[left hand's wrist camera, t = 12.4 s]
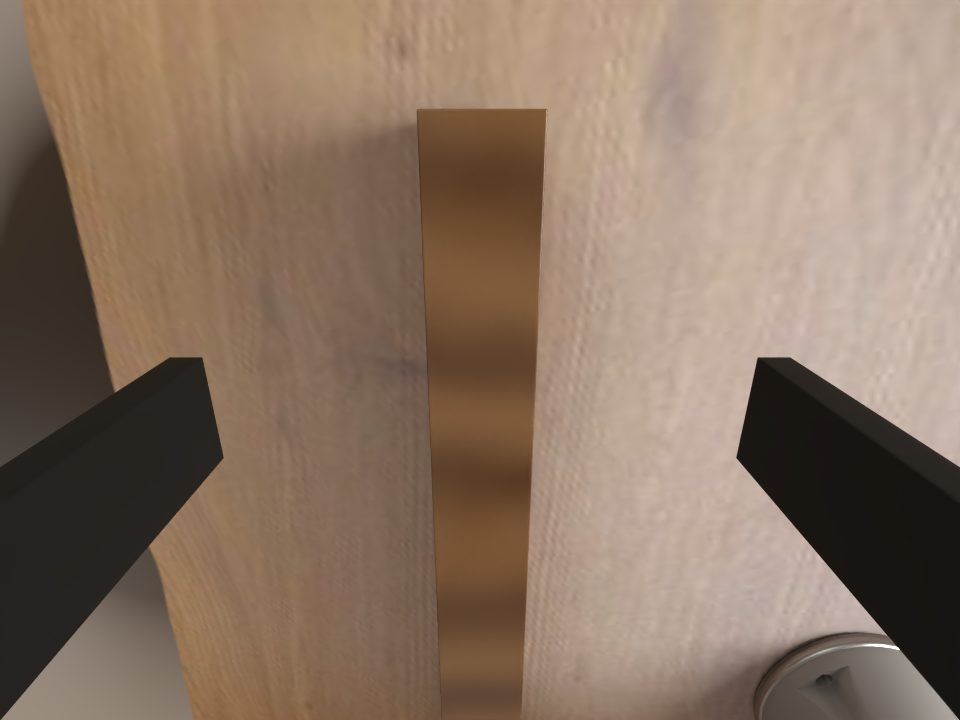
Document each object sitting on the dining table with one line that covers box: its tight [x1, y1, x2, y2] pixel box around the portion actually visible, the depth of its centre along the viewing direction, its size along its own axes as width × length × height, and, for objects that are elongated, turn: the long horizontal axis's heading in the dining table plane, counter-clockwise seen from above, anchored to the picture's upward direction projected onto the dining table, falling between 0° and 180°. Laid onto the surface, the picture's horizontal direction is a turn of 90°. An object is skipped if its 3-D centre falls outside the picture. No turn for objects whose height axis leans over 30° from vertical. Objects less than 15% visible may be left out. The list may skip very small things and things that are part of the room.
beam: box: [417, 109, 548, 720], centre depth 37 cm, size 58×6×8 cm, turn 0°
